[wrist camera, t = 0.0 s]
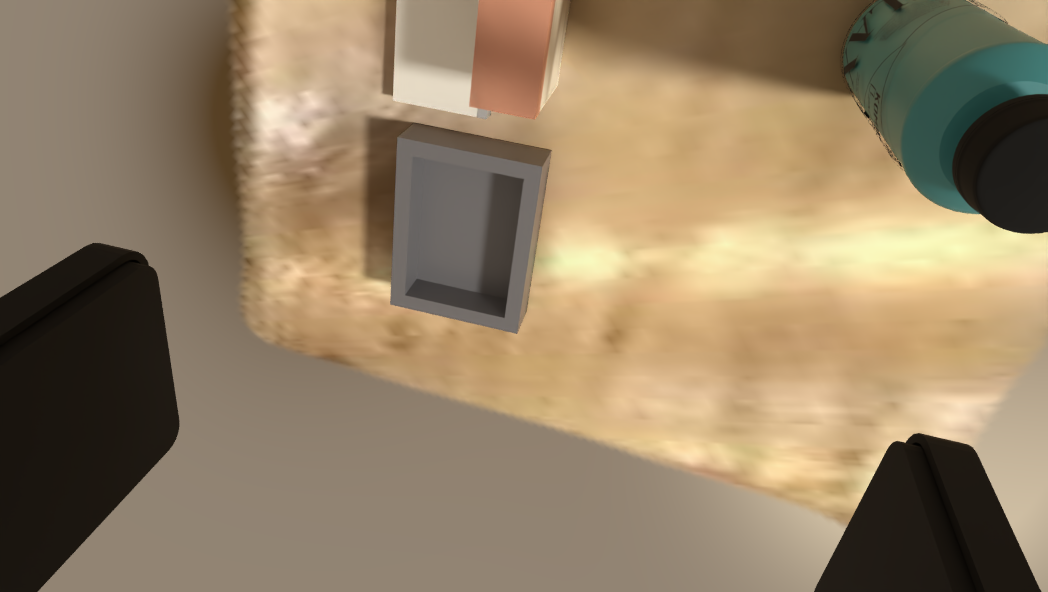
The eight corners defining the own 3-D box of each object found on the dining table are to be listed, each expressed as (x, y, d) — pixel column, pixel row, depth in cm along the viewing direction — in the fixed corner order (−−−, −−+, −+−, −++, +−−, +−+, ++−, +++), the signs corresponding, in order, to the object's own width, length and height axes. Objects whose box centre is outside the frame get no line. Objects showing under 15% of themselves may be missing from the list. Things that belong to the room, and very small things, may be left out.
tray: (414, 122, 47) (397, 137, 45) (551, 150, 46) (542, 166, 44) (405, 283, 53) (390, 304, 51) (526, 311, 52) (517, 333, 50)
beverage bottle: (921, -52, 37) (1104, 13, 20) (996, 48, 38) (1225, 189, 21) (807, 41, 40) (881, 166, 23) (880, 130, 41) (1000, 310, 25)
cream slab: (407, -121, 40) (400, -121, 39) (514, -104, 40) (510, -104, 39) (398, 96, 46) (392, 100, 46) (490, 114, 46) (486, 119, 45)
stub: (514, -53, 41) (482, -40, 35) (577, -42, 40) (555, -27, 35) (500, 75, 45) (469, 106, 39) (558, 86, 44) (535, 119, 38)
